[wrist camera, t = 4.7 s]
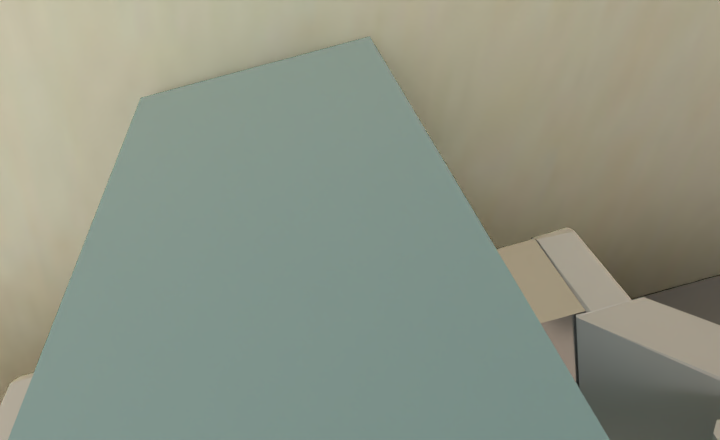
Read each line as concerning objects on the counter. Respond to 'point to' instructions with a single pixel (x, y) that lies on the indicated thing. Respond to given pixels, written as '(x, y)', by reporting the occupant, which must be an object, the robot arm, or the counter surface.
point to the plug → (294, 279)
